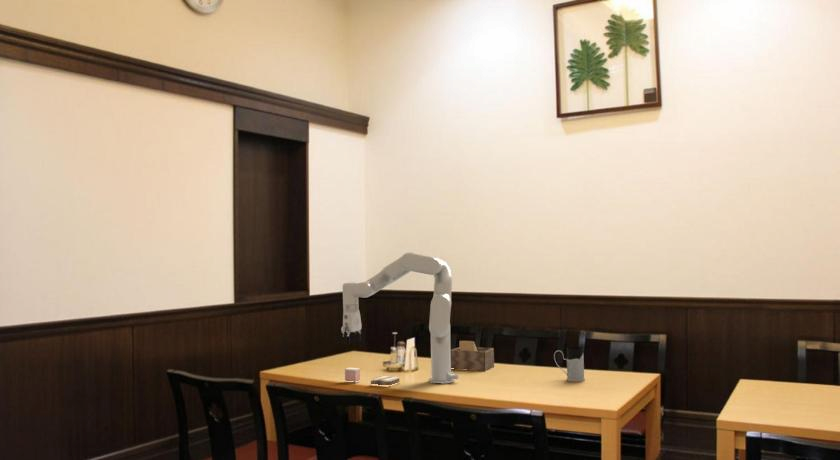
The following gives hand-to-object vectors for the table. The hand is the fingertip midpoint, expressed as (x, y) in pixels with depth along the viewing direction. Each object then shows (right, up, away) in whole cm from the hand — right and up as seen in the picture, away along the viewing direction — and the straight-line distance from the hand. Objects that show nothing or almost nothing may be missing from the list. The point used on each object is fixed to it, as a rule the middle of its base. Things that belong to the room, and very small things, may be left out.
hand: (352, 343), depth 325 cm
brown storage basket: (+61, -19, +32) cm, 71 cm away
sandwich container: (+61, -19, +32) cm, 72 cm away
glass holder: (+105, -16, -7) cm, 106 cm away
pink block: (0, -19, -1) cm, 19 cm away
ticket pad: (+17, -18, -9) cm, 26 cm away
